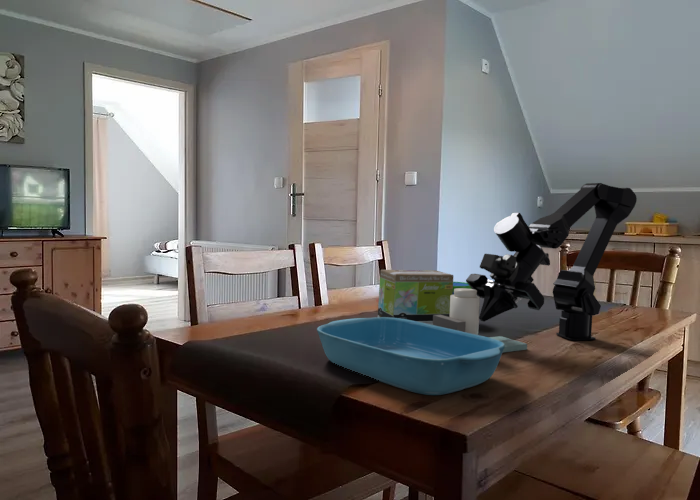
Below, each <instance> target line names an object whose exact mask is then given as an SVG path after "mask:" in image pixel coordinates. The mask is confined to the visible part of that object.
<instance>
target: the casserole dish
mask: <svg viewBox="0 0 700 500" xmlns="http://www.w3.org/2000/svg"><path fill="white" fill-rule="evenodd" d="M316 331H317V334H318V336H319V337H318V338H319V340H320V343H321V345H322V349H323V352H324V354H325V355H326V357H327V359H328V360H329V361H330V362H331V363H333V364H334V363H335V364H334V365H336V364H337V365H336V366H338V365H339V366H338V367H340V366H342V367H344V368H343V369H345V368H347V369H350V370H352V371H351V372H353V371H355V372H358V373H361V374H363V375H362V376H364V375H366V376H369V377H371V378H370V379H372V378H374V379H373V380H375V379H376V380H375V381H378V380H379V381H378V382H381V383H384V384H386V385H390V386H392V387H395V388H398V389H401V390H405V391H408V392H412V393H416V394H420V395H426V396H441V395H447V394H451V393H455V392H460V391H462V390H464V389H469V388H472V387H475V386H478V385H481V384H483V383H484V382H486V381H488V380H489V379H491V377H492V376H493V375H494V373H495V371H496V370H497V367H498V365H499V363H500V361H501V357H502V355H503V353H504V352H503V350H504V347H505V345H504V343H503V342H501V341H499V340H496V339H492V338H488V337H487V336H484V335H479V334H478V335H475V334H471V333H466V332H462V331H457V330H453V329H448V328H444V327H439V326H435V325H431V324H426V323H421V322H417V321H412V320H407V319H400V318H390V317H378V316H377V317H376V316H375V317H358V318H357V317H356V318H354V317H353V318H347V319H346V318H345V319H340V320H339V319H338V320H333V321H330V322H329V323H325V324H322V325H320V326H318V327H316ZM502 352H503V353H502ZM342 367H341V368H342ZM347 369H346V370H347ZM350 370H349V371H350ZM355 372H354V373H355ZM358 373H357V374H358ZM361 374H360V375H361ZM366 376H365V377H366ZM369 377H368V378H369Z"/></svg>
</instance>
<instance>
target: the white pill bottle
mask: <svg viewBox="0 0 700 500" xmlns="http://www.w3.org/2000/svg"><path fill="white" fill-rule="evenodd" d="M480 304H481V298H480V297H479V296H477V290H475V289H468V288H456V289H454V295H450V317H451V318H454V319H458V320H462V321H465V322H466V326H465V332H466V333H471V334H475V335H479V327H480V326H479V325H480V319H479V316H480Z"/></svg>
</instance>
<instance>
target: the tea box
mask: <svg viewBox="0 0 700 500" xmlns="http://www.w3.org/2000/svg"><path fill="white" fill-rule="evenodd" d="M453 282H454V274H450V273H447V272H443V271H439V270H433V269H432V270H431V269H430V270H429V269H428V270H426V269H423V270H422V269H380V272H379V286H378V287H379V288H378V289H379V290H378V305H377V308H378V309H377V317H390V318H400V319H407V320H412V321H417V322H421V323H426V324H431V325H433V315H444V316H447V317H450V295H452V294H453Z"/></svg>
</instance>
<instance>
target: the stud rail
mask: <svg viewBox="0 0 700 500" xmlns="http://www.w3.org/2000/svg"><path fill="white" fill-rule="evenodd" d="M433 325H435V326H439V327H444V328H448V329H453V330H457V331H462V332H465V326H466V322H465V321H462V320H458V319H454V318H451V317H447V316H444V315H433ZM488 338H492V339H496V340H499V341H501V342H503V343H504V345H505V347H504V350H503V352H502V354H503V353H509V352H519V351H525V350H528V343H525V342H523V341H518V340H514V339H512V338H508V337H505V336H502V335H499V336H490V337H488Z"/></svg>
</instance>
